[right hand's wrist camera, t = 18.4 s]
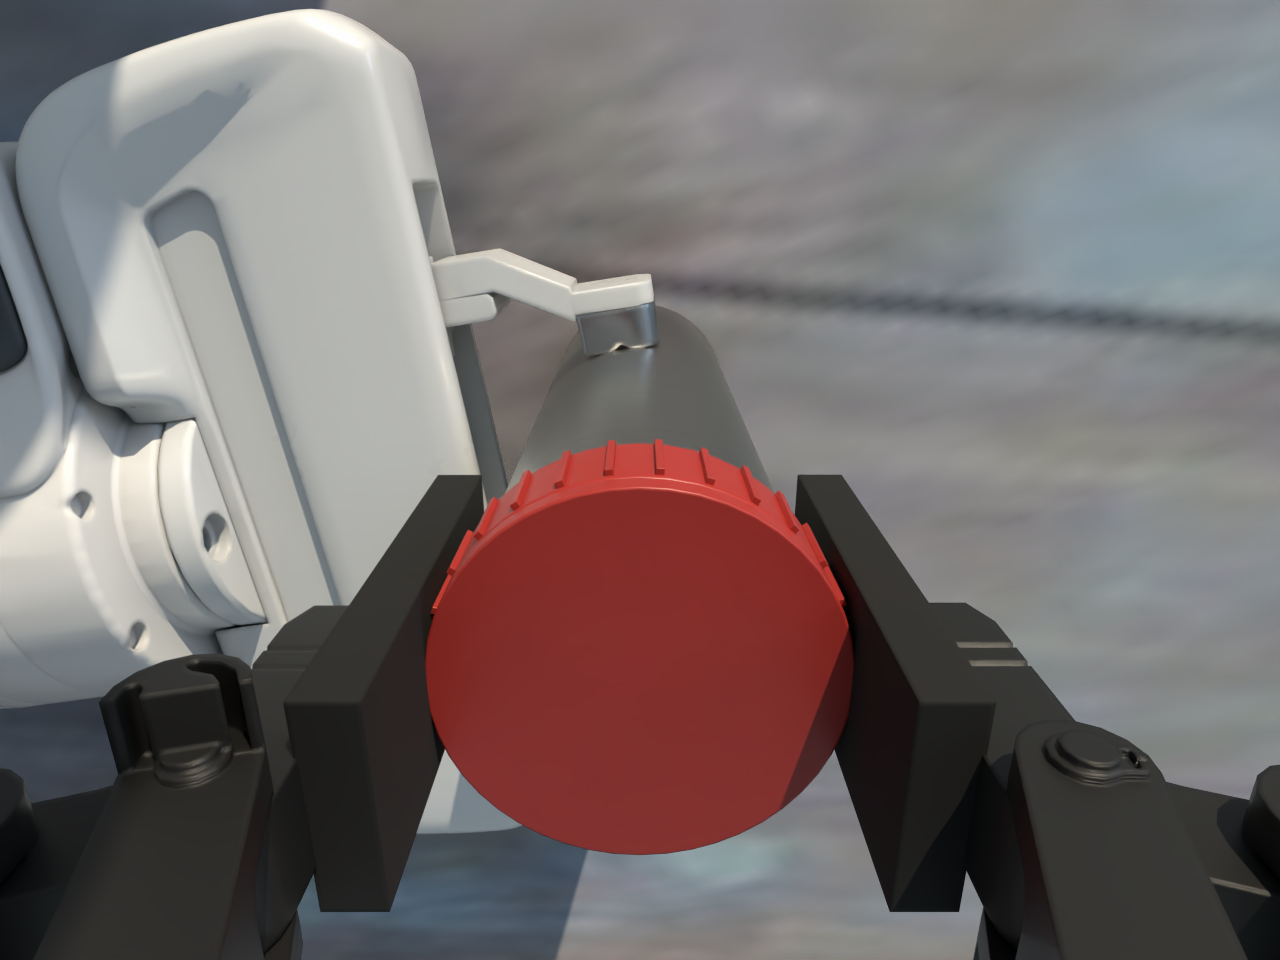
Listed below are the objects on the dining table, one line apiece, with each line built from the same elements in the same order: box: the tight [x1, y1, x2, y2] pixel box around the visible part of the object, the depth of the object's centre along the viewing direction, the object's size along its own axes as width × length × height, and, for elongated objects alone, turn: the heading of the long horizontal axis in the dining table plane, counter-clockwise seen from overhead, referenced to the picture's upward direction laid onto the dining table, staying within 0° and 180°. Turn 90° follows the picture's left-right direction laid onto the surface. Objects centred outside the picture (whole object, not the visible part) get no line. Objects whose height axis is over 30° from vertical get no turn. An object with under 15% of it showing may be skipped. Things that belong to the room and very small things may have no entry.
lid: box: [425, 439, 854, 855], centre depth 11 cm, size 6×6×2 cm
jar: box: [505, 306, 775, 494], centre depth 18 cm, size 5×5×16 cm
